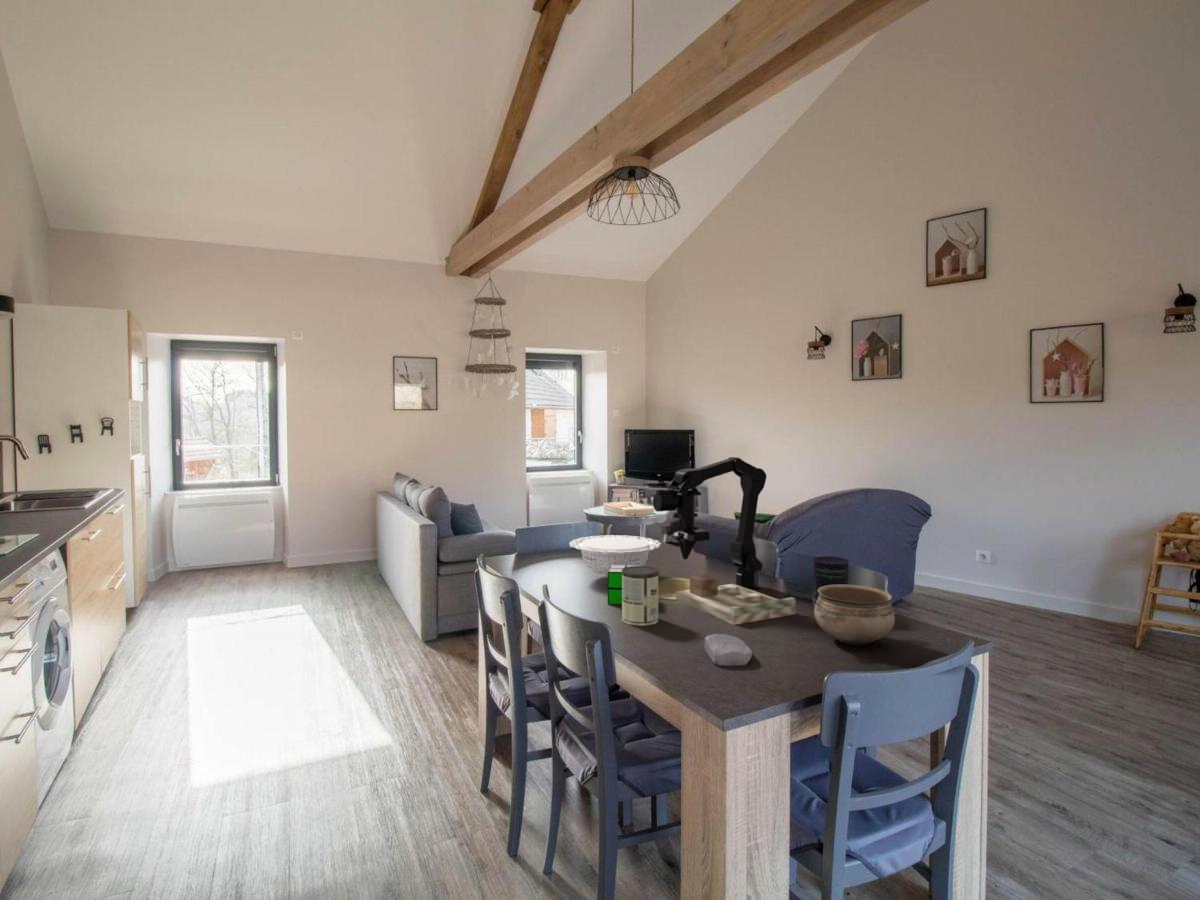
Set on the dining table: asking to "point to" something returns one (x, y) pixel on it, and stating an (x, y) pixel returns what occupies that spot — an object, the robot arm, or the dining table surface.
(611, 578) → the puzzle cube
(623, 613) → the coffee can
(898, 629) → the dining table surface
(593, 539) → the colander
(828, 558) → the storage jar
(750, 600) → the trap deck
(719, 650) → the stone block
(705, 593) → the walnut block
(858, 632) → the cooking pot
